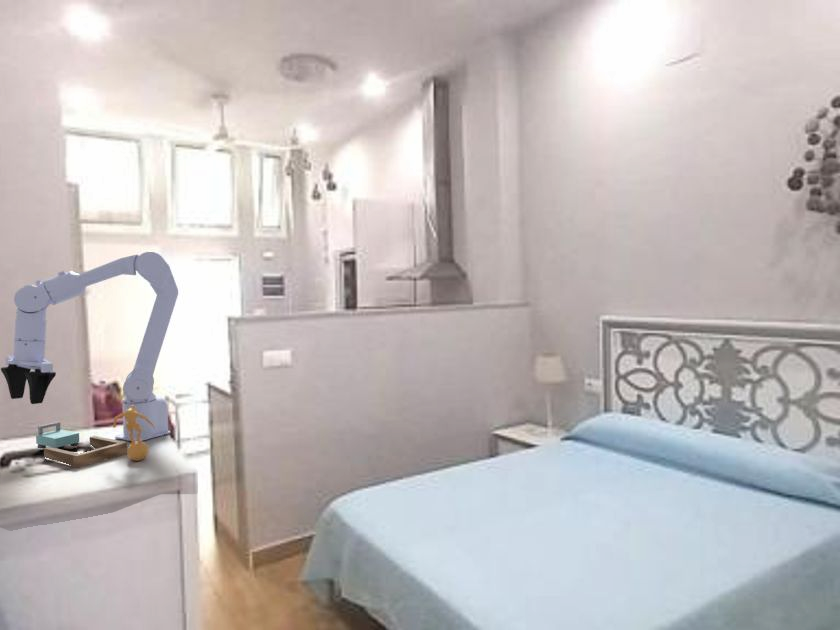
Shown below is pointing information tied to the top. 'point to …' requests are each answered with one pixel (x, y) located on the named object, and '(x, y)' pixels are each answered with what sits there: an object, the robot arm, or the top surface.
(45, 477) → the top surface
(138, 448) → the figurine
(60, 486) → the top surface
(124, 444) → the dock
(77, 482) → the top surface
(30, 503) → the top surface
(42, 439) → the mint block
